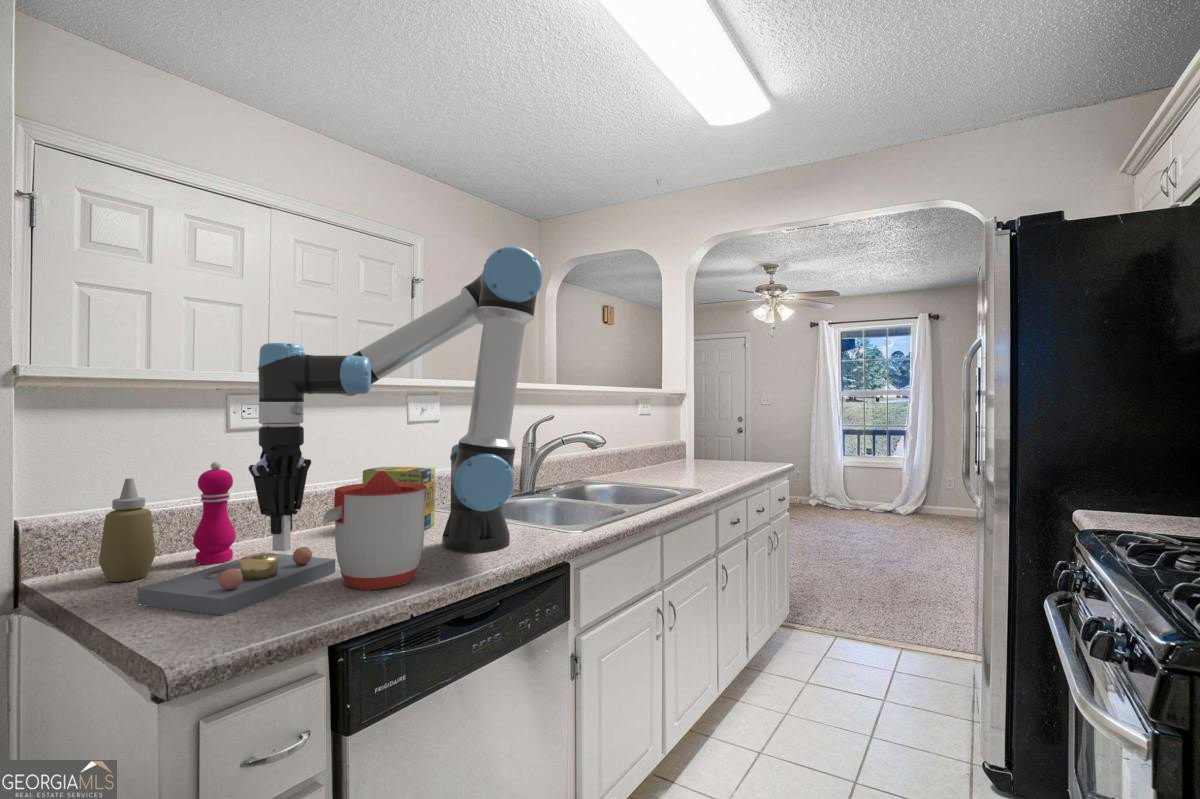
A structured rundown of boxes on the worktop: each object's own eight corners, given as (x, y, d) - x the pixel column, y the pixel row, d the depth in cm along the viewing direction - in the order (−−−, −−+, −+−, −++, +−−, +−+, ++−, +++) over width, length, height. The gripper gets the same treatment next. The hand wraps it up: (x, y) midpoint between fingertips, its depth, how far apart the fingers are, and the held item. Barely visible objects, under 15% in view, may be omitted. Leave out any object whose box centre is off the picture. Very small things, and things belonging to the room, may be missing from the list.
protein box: (421, 533, 145) (421, 471, 145) (360, 532, 146) (361, 470, 146) (435, 525, 156) (436, 466, 156) (379, 523, 156) (379, 465, 157)
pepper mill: (185, 565, 114) (186, 463, 115) (204, 556, 122) (205, 460, 122) (225, 564, 116) (226, 463, 116) (241, 555, 123) (243, 459, 123)
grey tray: (335, 572, 111) (335, 559, 111) (223, 615, 88) (223, 599, 88) (262, 565, 115) (262, 552, 115) (137, 604, 92) (137, 588, 92)
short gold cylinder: (285, 571, 102) (285, 553, 102) (259, 580, 96) (259, 561, 96) (259, 569, 103) (259, 551, 103) (232, 578, 98) (232, 559, 98)
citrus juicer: (313, 579, 106) (315, 469, 106) (409, 564, 117) (410, 464, 117) (332, 603, 94) (334, 478, 94) (438, 584, 104) (439, 471, 104)
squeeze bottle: (138, 569, 111) (140, 475, 112) (165, 574, 108) (167, 477, 109) (87, 581, 104) (89, 480, 104) (115, 587, 101) (117, 482, 101)
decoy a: (316, 563, 108) (316, 545, 108) (303, 567, 105) (303, 549, 105) (301, 561, 109) (301, 544, 109) (288, 566, 106) (288, 548, 106)
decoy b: (247, 587, 94) (247, 567, 94) (229, 593, 91) (230, 572, 91) (231, 585, 94) (231, 565, 94) (213, 591, 91) (213, 570, 91)
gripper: (270, 426, 104) (269, 560, 103) (323, 424, 116) (322, 543, 116) (236, 426, 106) (235, 557, 105) (291, 424, 118) (291, 541, 118)
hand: (281, 549), depth 111 cm, fingers closed
